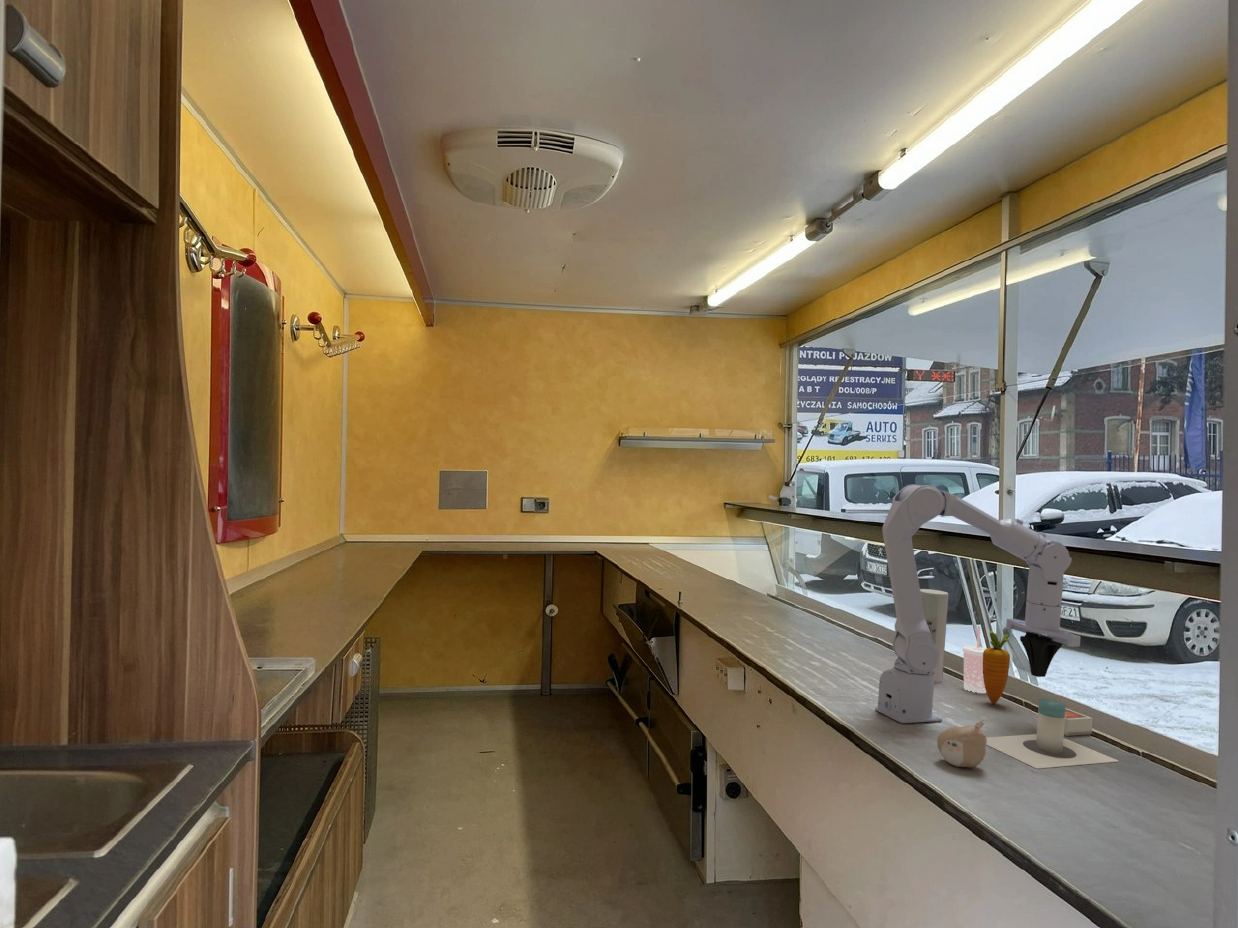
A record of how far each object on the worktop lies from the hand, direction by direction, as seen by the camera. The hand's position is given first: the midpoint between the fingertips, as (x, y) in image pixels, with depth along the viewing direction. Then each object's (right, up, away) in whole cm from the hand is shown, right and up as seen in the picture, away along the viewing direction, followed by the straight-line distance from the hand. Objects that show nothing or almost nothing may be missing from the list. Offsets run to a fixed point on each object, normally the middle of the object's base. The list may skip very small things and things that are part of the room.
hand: (1038, 675), depth 140 cm
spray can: (-8, -10, +31) cm, 33 cm away
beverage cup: (-1, -10, +24) cm, 26 cm away
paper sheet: (-6, -9, -12) cm, 16 cm away
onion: (-24, -8, -21) cm, 34 cm away
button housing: (+5, -10, 0) cm, 11 cm away
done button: (+5, -9, 0) cm, 11 cm away
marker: (-5, -9, -12) cm, 16 cm away
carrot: (-2, -10, +14) cm, 17 cm away
